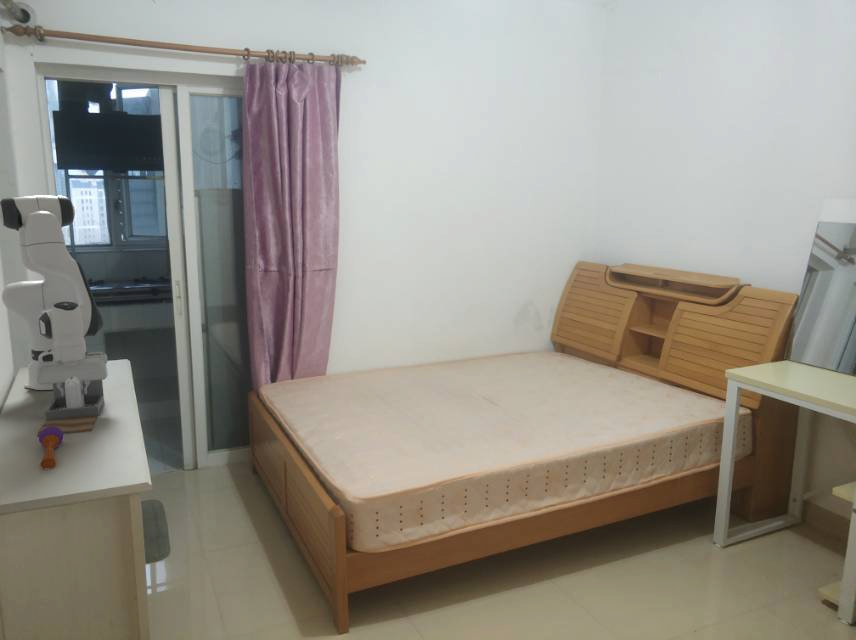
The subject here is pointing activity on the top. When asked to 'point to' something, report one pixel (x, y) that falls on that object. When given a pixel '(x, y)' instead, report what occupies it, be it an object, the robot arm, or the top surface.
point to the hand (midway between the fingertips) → (74, 394)
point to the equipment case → (91, 397)
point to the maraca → (50, 444)
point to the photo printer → (74, 393)
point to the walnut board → (71, 424)
